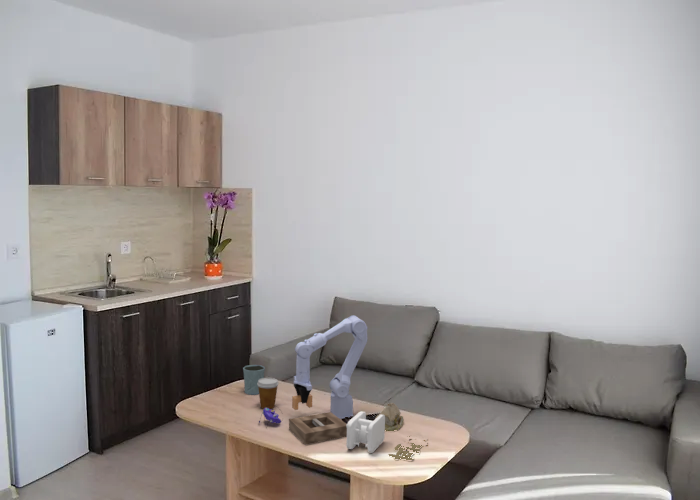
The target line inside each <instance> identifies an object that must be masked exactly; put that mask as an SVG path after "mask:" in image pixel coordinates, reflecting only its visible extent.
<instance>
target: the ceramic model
mask: <svg viewBox="0 0 700 500" xmlns="http://www.w3.org/2000/svg"><path fill="white" fill-rule="evenodd" d="M380 414H382V415H385V430H386V431H385V432H387V431H394V430H397V431H399V430H400V429H401V428H402V427H401V426H403V425H404V416H403V415H401V414H402V413H401V411H400V409H399V407H398V405H396V404H395V402H388V403H387V406H385V408H383V410H382V411H381V412H379V414H377V415H376V416H375V419H376V418H377V417H378V416H379V415H380ZM375 419H374V420H375ZM402 424H403V425H402ZM400 427H401V428H400ZM399 428H400V429H399ZM398 429H399V430H398ZM394 432H395V431H394Z"/></svg>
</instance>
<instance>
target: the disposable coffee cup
mask: <svg viewBox="0 0 700 500" xmlns="http://www.w3.org/2000/svg"><path fill="white" fill-rule="evenodd" d="M257 385H258V388H259V394H258V396H259V404H260V405H259V406H260V408H261V409H262V410H264V408H265V407H266V406H267V407H266V408H269V409H271V410H272V409H274V408H275V407H276V398H277V394H278V393H277V391H278V385H279V381H278V379H277V378H274V377H264V378H262V379H260V380H258V383H257ZM268 405H269V406H268ZM274 405H275V406H274Z"/></svg>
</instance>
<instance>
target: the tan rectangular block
mask: <svg viewBox="0 0 700 500" xmlns="http://www.w3.org/2000/svg"><path fill="white" fill-rule="evenodd" d="M291 397H292V399H291V400H292V403H291V408H292V409H293V410H294V411H298V410H299V403H302V402H301V395H298V396H297V395H293V396H291ZM305 406H306V407H307V408H309V409H311V408H313V395H312V394H309V396H308V400H307V403H305Z"/></svg>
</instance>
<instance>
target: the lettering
mask: <svg viewBox="0 0 700 500" xmlns="http://www.w3.org/2000/svg"><path fill="white" fill-rule="evenodd" d="M408 436H409V437H410V436H411V435H408ZM401 444H402V443H399V444H397V445H396V446H395V447H394V449H395V450H397V451H396V453H395V454H394V453H388V454H387V455H389V457H390V456H392V457H395V458H394V460H395V459H400V458H401V459H406V460H414V461H415V458H414V459H412V458H413V457H411V455H412V454H413V453H408V452H409V451H403V450H405V448H404V449H403V448H401V447H402V446H401ZM411 444H412V445H411ZM413 444H414V443H410V446H412V448H409V447H406V448H407V449H410V450H413V452H415V451H416V453H419V452H417V451H420V452H421V448H422V447H423V446H422V445H421V446H422V447H421V446H420V445H415V444H414V445H413ZM400 446H401V447H400ZM399 447H400V448H399ZM403 447H404V446H403ZM416 447H417V448H420V447H421V448H420V449H415V448H416ZM398 448H399V449H398ZM395 450H394V451H395ZM401 453H403V454H401ZM407 453H408V455H406V454H407ZM400 454H401V455H400ZM399 455H400V456H399ZM413 455H414V454H413ZM403 456H405V457H403ZM392 457H391V458H392ZM408 457H409V458H408ZM410 457H411V458H410ZM401 459H400V460H401Z"/></svg>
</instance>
